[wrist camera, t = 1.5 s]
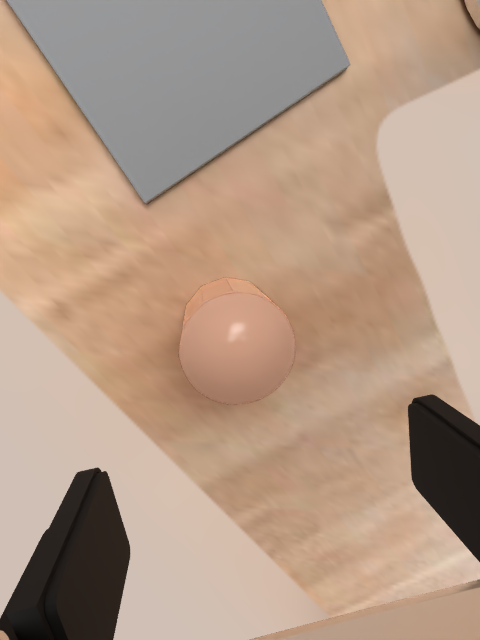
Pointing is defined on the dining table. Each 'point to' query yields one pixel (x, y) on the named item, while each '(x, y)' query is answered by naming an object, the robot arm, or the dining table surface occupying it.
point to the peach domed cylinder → (235, 342)
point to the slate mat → (182, 72)
